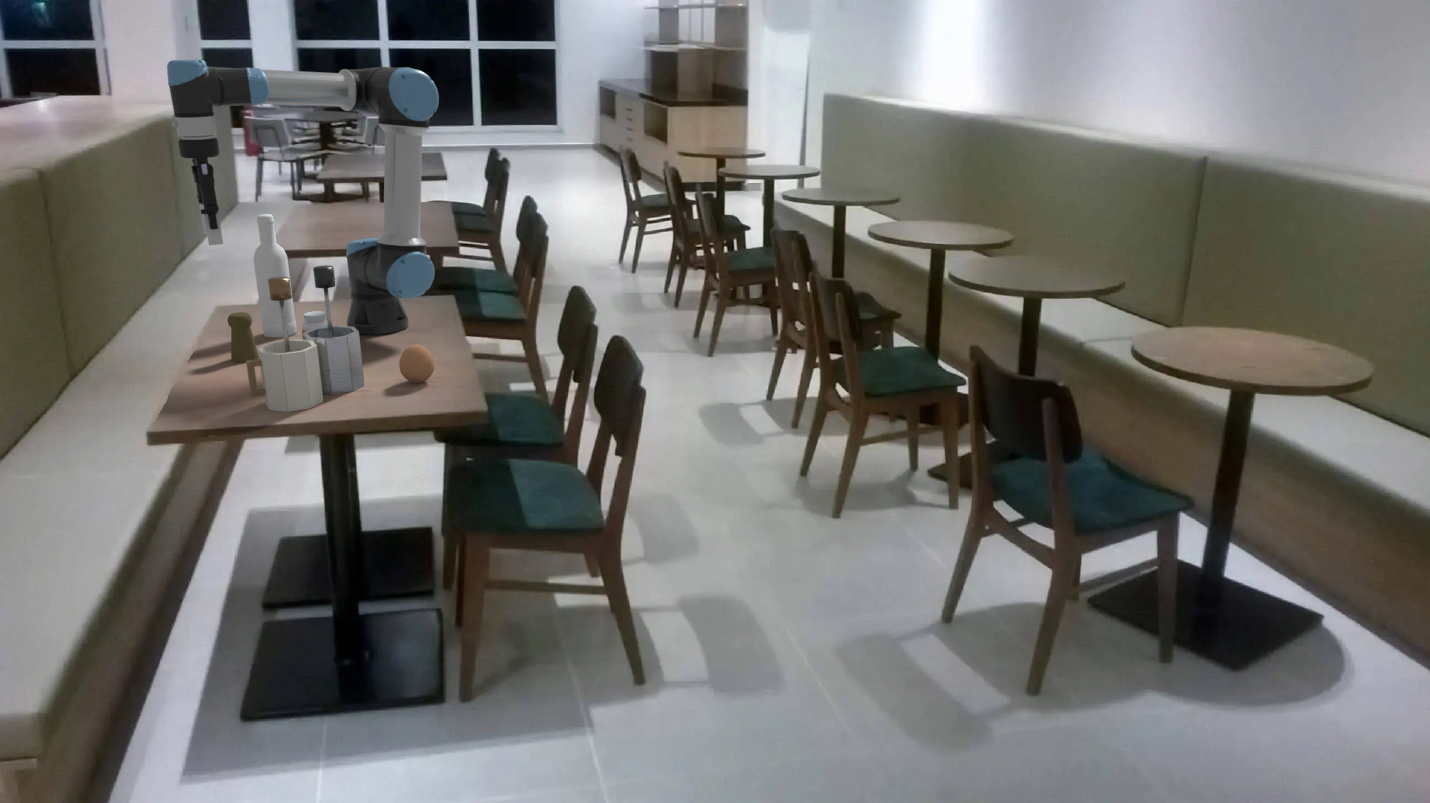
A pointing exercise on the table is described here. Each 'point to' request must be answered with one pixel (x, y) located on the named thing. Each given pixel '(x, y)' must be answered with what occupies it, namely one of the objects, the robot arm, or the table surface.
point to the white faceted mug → (287, 375)
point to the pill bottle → (314, 320)
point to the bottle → (268, 265)
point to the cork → (242, 338)
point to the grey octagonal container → (338, 358)
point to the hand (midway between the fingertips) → (213, 239)
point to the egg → (416, 364)
